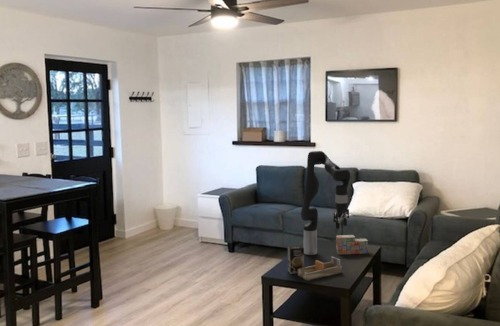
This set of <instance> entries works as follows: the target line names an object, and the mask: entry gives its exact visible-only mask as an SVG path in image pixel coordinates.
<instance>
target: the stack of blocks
mask: <svg viewBox="0 0 500 326" xmlns="http://www.w3.org/2000/svg"><path fill="white" fill-rule="evenodd" d="M335 239H336V240H335V249H336V250H335V251H336V254H337V255H358V254H359V255H361V254H366V255H367V254H369V240H368V239H367V238H356V236H355V235H354V234H342V235H341V234H340V235H335Z"/></svg>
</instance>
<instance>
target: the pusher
mask: <svg viewBox="0 0 500 326" xmlns="http://www.w3.org/2000/svg"><path fill="white" fill-rule="evenodd" d="M324 263H325V262H322V261H320V260H318V259H316V260H314V265H315V271H319V270H323V269H324Z"/></svg>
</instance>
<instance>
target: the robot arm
mask: <svg viewBox="0 0 500 326" xmlns="http://www.w3.org/2000/svg"><path fill="white" fill-rule="evenodd" d="M306 165H307V166H306V177H305V186H304V196H303V202H302V206H301V211H300V217H301V220H303V221H304V222H307V221H308V222H307V223H306V224H304V225H303V238H302V247H303V248H304V255H307V256H314V255H317V254H318V232H317V231H318V217H319V213H318V209H317V207H315V206H310V205H311V204H312V201H313V200H314V199H315V197H316V196H317V194H318V193H319V188H320V181H319V179H318V177H317V175H316V173H315V166H317V165H324V169H325V172H327V173H328V174H330V175H331V177H332V179H333V180H334V181H335V182H340V183H338V184H336V186H335V197H334V199H335V201H334V202H335V203H334V205H335V206H334V207H335V208H334V209H336V211H335V212H333V219H332V221H333V223H335V229H337V230H339V229H340V228H341V227H340V225H341V223H340V221H341V220H342V219H343V221H342V223H343V224H342V225H343V226H344V227H347V225H348V219H350V209H349V208H348V207H349V206H348V204H349V203H348V201H349V199H348V187H349V183H350V181H351V180H350V179H351V172H350V170H348V169H345V168H344V169H341V167H340V166H339V165H338V164H336V163H334V162H333V161H332V160H331V159H330V157H328V156H327V154H326V153H325V152H324V151H322V150H311V151H309V152H308V154H307V162H306Z"/></svg>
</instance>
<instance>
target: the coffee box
mask: <svg viewBox="0 0 500 326" xmlns="http://www.w3.org/2000/svg"><path fill="white" fill-rule="evenodd" d="M304 267H305V254H304V248H303V245H290V246H287V271H288V273H289V274H290V275H292V274H298V269H300V268H304Z"/></svg>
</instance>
